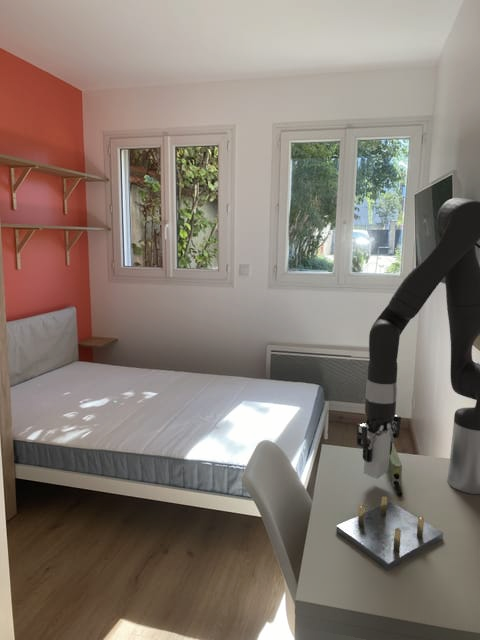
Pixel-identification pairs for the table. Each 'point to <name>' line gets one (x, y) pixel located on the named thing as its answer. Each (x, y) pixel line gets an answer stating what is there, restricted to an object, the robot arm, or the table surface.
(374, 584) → the table surface
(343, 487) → the table surface
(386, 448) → the skincare box
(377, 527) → the standoff plate
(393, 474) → the handheld radio
